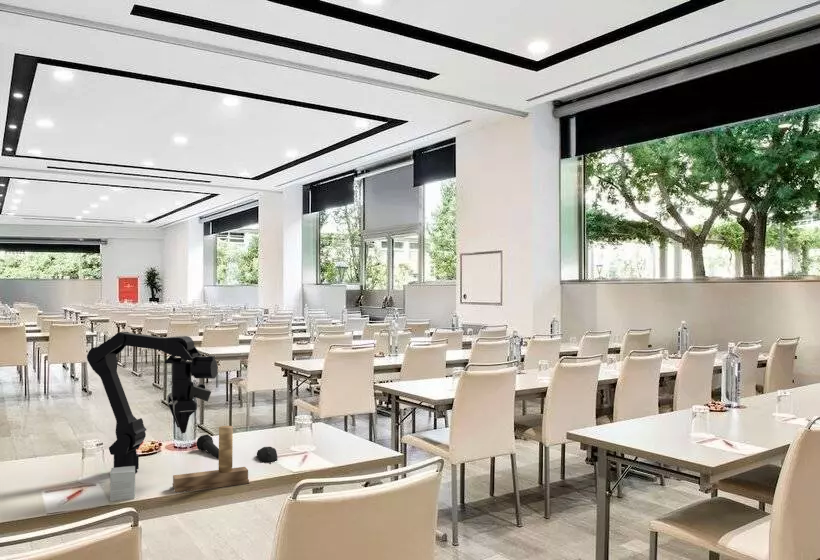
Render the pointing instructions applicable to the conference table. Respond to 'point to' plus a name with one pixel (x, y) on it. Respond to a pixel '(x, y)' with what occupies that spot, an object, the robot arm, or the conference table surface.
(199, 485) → the ridge
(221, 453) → the dowel
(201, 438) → the microphone
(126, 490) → the product box
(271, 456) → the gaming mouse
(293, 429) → the conference table surface
